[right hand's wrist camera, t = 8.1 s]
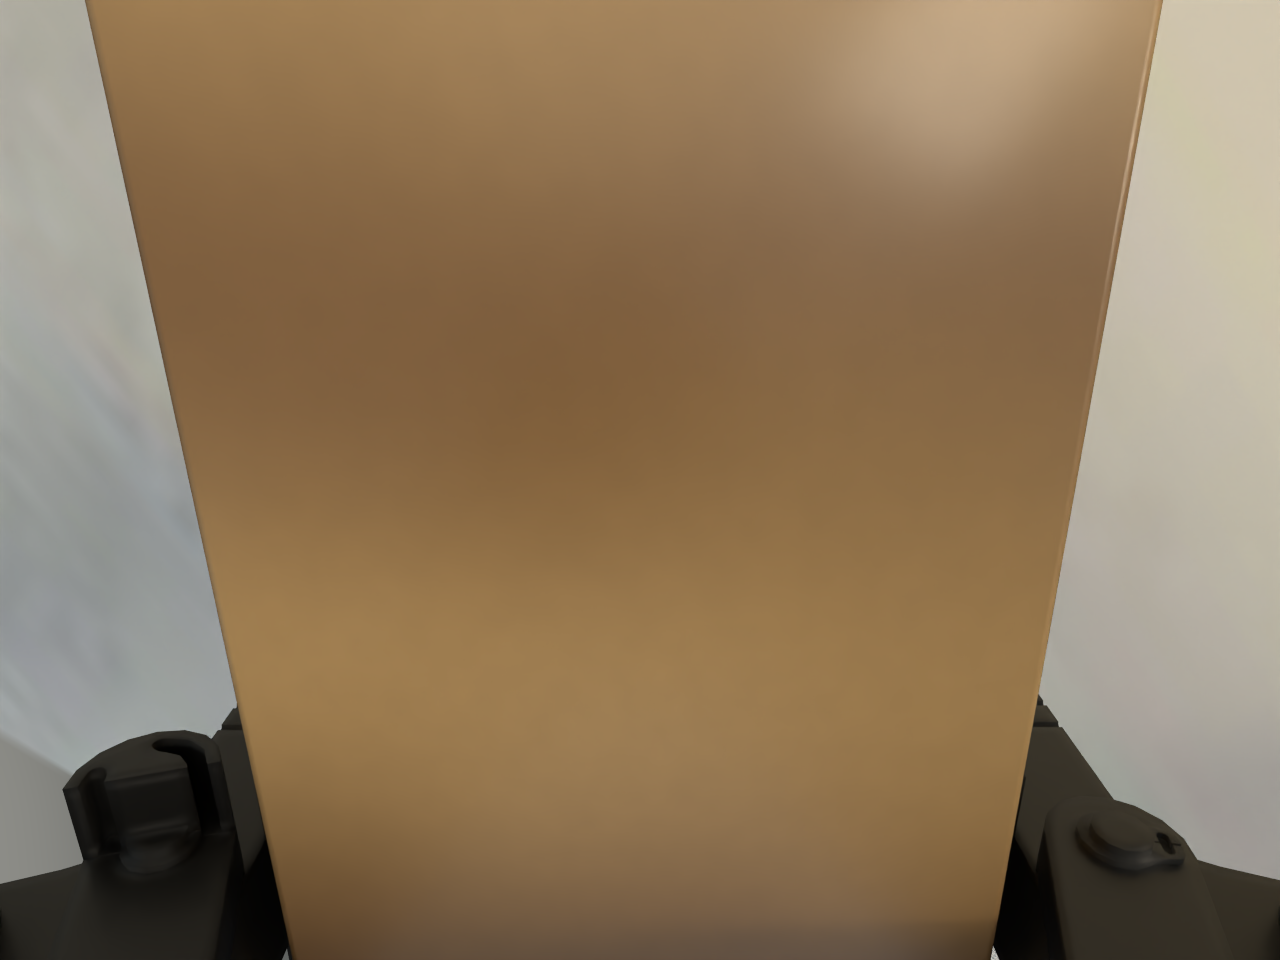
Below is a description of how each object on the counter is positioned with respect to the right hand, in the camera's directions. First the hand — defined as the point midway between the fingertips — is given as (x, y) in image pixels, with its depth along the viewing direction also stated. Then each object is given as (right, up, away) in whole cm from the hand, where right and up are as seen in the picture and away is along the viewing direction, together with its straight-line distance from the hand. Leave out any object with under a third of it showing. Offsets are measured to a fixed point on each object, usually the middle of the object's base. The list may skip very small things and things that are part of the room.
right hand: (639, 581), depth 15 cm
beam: (0, +27, -10) cm, 28 cm away
